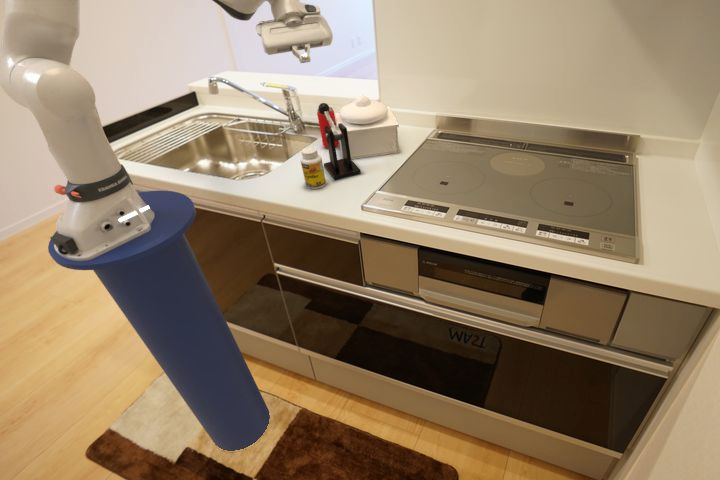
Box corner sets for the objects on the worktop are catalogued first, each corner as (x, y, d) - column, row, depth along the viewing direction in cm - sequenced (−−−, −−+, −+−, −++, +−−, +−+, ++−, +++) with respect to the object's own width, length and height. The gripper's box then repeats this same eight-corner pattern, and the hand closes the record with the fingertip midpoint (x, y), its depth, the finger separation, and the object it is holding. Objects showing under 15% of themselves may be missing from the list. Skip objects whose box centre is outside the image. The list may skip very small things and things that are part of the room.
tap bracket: (324, 167, 123) (316, 124, 115) (349, 160, 125) (343, 118, 117) (334, 180, 116) (326, 136, 108) (361, 173, 118) (355, 130, 110)
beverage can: (333, 141, 137) (327, 105, 130) (342, 146, 134) (336, 109, 126) (320, 146, 135) (313, 109, 127) (328, 151, 132) (322, 113, 124)
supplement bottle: (303, 189, 113) (295, 154, 107) (310, 179, 117) (303, 145, 111) (322, 190, 112) (315, 155, 106) (329, 180, 116) (322, 146, 110)
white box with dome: (338, 138, 139) (330, 89, 129) (390, 131, 141) (387, 82, 131) (342, 160, 126) (334, 107, 116) (400, 152, 128) (397, 100, 118)
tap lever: (317, 110, 119) (316, 101, 116) (327, 108, 120) (327, 99, 117) (332, 143, 114) (332, 134, 111) (343, 140, 115) (343, 131, 112)
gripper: (252, 14, 113) (269, 60, 113) (324, 5, 120) (340, 48, 119) (254, 30, 119) (270, 74, 119) (322, 21, 126) (337, 62, 125)
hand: (305, 61), depth 119 cm, fingers closed
